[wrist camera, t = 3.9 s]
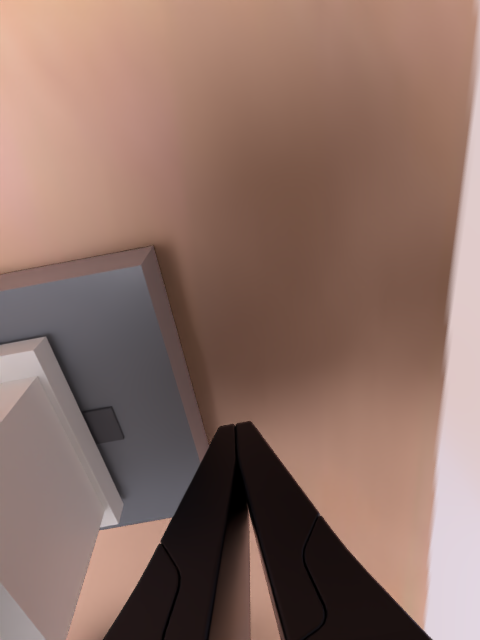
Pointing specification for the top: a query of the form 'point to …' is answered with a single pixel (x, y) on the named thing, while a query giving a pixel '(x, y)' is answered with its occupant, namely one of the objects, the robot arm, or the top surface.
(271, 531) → the robot arm
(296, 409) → the top surface
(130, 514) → the fader track
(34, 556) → the fader knob
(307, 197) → the top surface
